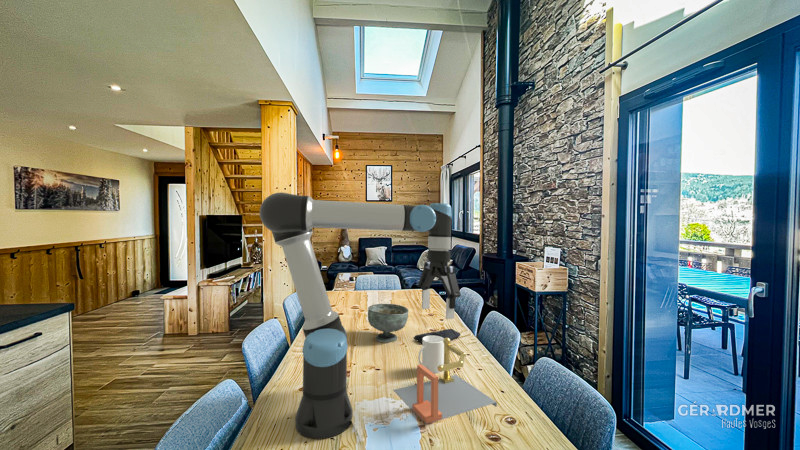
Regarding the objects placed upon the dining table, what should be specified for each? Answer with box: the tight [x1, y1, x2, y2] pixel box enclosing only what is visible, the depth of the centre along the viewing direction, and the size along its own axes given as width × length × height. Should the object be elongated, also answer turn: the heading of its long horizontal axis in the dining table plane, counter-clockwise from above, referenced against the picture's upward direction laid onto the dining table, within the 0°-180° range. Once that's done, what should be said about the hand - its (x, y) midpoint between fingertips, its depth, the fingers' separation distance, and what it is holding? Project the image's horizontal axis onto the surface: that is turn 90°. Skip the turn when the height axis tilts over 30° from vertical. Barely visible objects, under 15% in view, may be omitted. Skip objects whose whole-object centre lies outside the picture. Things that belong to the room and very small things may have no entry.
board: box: [393, 374, 498, 425], centre depth 100 cm, size 25×20×1 cm
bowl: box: [367, 303, 409, 344], centre depth 154 cm, size 20×19×15 cm
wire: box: [438, 338, 467, 384], centre depth 102 cm, size 15×17×14 cm
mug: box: [417, 335, 444, 375], centre depth 119 cm, size 12×8×12 cm
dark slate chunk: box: [413, 328, 461, 344], centre depth 155 cm, size 15×22×5 cm
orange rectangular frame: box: [412, 364, 443, 425], centre depth 90 cm, size 5×9×12 cm, turn 27°
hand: (437, 313), depth 107 cm, fingers open, 13 cm apart
